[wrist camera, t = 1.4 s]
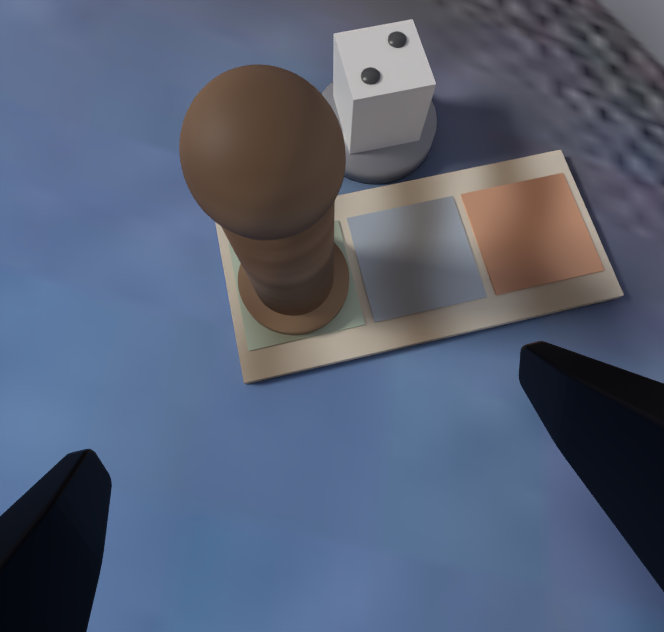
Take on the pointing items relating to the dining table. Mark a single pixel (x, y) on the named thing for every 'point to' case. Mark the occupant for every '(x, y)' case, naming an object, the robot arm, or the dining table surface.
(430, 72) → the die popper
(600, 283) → the board
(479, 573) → the dining table surface
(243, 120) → the pawn
